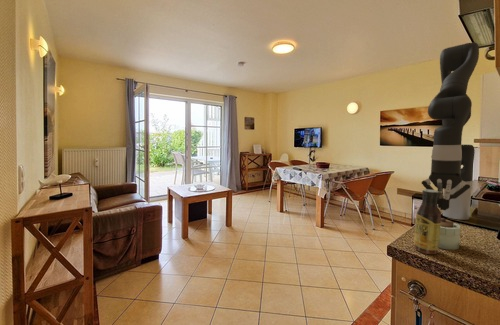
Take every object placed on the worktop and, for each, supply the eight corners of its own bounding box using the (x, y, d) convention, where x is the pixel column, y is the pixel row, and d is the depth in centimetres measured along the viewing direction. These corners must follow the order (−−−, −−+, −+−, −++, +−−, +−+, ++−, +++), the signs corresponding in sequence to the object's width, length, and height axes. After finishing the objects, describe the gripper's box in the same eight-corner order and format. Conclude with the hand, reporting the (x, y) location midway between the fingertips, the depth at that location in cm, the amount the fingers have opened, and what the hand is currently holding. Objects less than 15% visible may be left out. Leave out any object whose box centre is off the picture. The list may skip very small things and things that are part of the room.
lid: (432, 225, 82) (433, 215, 82) (453, 229, 78) (454, 218, 78) (430, 229, 78) (431, 218, 78) (452, 234, 74) (452, 222, 74)
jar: (426, 236, 85) (427, 217, 84) (459, 243, 79) (460, 223, 78) (422, 244, 79) (423, 224, 78) (458, 252, 72) (459, 231, 72)
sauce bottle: (409, 246, 77) (412, 188, 75) (428, 246, 77) (431, 188, 75) (423, 256, 70) (426, 192, 69) (444, 256, 70) (448, 192, 68)
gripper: (473, 158, 74) (470, 210, 76) (423, 157, 83) (421, 203, 85) (474, 160, 69) (470, 216, 70) (419, 158, 78) (417, 208, 80)
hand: (443, 209), depth 78 cm, fingers closed
